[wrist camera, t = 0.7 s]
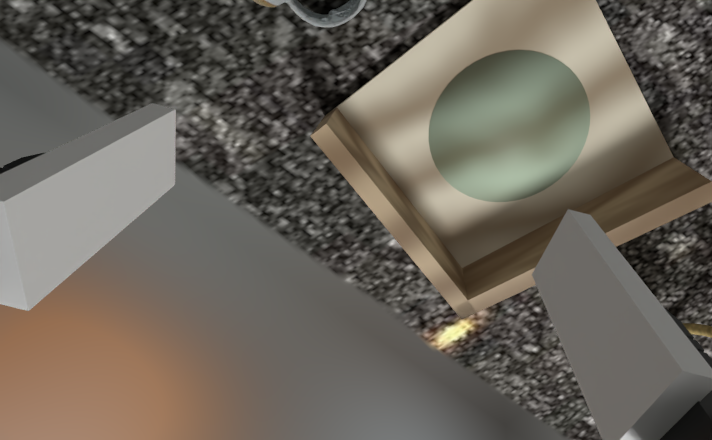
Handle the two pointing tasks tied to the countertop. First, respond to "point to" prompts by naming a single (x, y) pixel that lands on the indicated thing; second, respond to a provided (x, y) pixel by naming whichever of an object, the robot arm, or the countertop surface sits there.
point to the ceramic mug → (320, 20)
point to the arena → (506, 145)
